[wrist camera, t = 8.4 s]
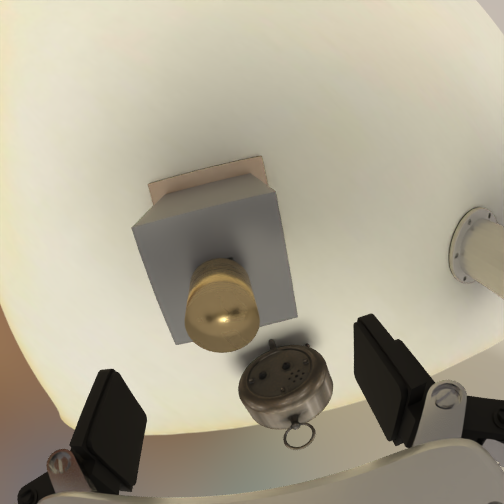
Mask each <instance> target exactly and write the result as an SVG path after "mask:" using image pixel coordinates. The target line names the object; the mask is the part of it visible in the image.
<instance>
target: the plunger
mask: <svg viewBox="0 0 504 504" xmlns="http://www.w3.org/2000/svg"><path fill="white" fill-rule="evenodd" d="M259 325H260V317H259V312H258V309H257V305H256V301H255V297H254V294H253V290H252V286H251V282H250V279H249V276H248V274H247V272H246V270H245V269H244V268H243V267H242V266H241V265H240V264H238V263H237V262H235V261H233V257H230V258H226V259H225V258H215V259H211V260H208V261H206V262H204V263H202V264H201V265H200V266H198V267H197V268H196V270H195V271H194V273H193V274H192V277H191V280H190V286H189V293H188V299H187V306H186V313H185V328H186V332H187V334H188V335H189V337H190V338H191V340H192V341H193V342H194V343H196V344H197V345H198V346H200V347H201V348H203V349H206V350H208V351H212V352H219V353H224V352H232V351H235V350H238V349H241V348H242V347H244V346H246V345H247V344H248V343H250V342H251V341H252V340H253V338H254V337H255V336H256V334H257V332H258V329H259Z"/></svg>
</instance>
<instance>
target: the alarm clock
mask: <svg viewBox="0 0 504 504" xmlns="http://www.w3.org/2000/svg"><path fill="white" fill-rule="evenodd" d="M269 345H270V348H271V349H270V351H268V352H266V353H264V354H263V355H261V356H259V357H258V358H257V359H255V360H254V361H253V362H252V363H251V364H250V365H249V366H248V367H247V368H246V369H245V371H244V373H243V374H242V376H241V379H240V382H239V387H238V391H239V396H240V399H241V401H242V403H243V404H244V406H245V407H246V409H247V410H248V412H249V413H250V414H251V416H252V418H253V419H254V420H255V421H256V422H257V423H259V424H260V425H262V426H264V427H267V428H271V429H287V431H286V433H285V434H284V444H285V445H286V447H288V448H290V449H293V450H300V449H304V448H306V447H307V446H309V445H310V444H311V443H312V441H313V440H314V438H315V429H314V428H313V426H312V425H310V424H308V423H307V422H309V421H310V420H312V419H313V418H315V417H316V416H317V415H319V413H321V412H322V411H323V410H324V408H325V407H326V406H327V404H328V403H329V401H330V399H331V396H332V392H333V382H332V379H331V376H330V374H329V371H328V368H327V365H326V362H325V360H324V358H323V357H322V355H321V354H320V353H318V352H317V351H316V350H314V349H312V348H310V346H309V344H306V345H305V346H301V345H289V346H283V347H278V348H276V346H275V343H274V341H273V340H269ZM300 425H307V426H309V427H310V428H311V429H312V437H311V439H310V441H309V442H308V443H307V444H305V445H304V446H301V447H292V446H290V445H289V444H288V443H287V441H286V436H287V433H288V432H289V430H291V429H295V430H296V429H299V427H300Z"/></svg>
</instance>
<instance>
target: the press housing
mask: <svg viewBox="0 0 504 504" xmlns="http://www.w3.org/2000/svg"><path fill="white" fill-rule="evenodd" d="M148 187H149V191H150V194H151V198H152V202H153V205H154V206H153V207H152V208H151V209H150V210H149V211H148V212H147V213H146V214H145V215H144V216H143V217H142V218H141V219H140V220H139V221H138V222H137V223H136V224H135V225H134V226H133V227H132V231H133V234H134V237H135V240H136V243H137V246H138V249H139V252H140V255H141V258H142V261H143V263H144V266H145V269H146V272H147V275H148V277H149V280H150V283H151V285H152V288H153V291H154V293H155V296H156V298H157V301H158V304H159V306H160V309H161V311H162V313H163V316H164V318H165V321H166V323H167V326H168V328H169V330H170V333H171V335H172V337H173V340H174V342H175V344H176V345H179V344H184V343H189V342H193V341H192V340H191V338H190V337H189V335H188V334H187V332H186V328H185V313H186V306H187V299H188V293H189V286H190V280H191V277H192V274H193V273H194V271H195V270H196V268H197V267H198V266H200V265H201V264H202V263H204V262H206V261H208V260H211V259H215V258H225V259H226V258H230V257H233V261H235V262H237V263H238V264H240V265H241V266H242V267H243V268H244V269H245V270H246V272H247V274H248V276H249V279H250V282H251V286H252V290H253V294H254V297H255V301H256V305H257V309H258V312H259V317H260V325H259V327H261V326H265V325H270V324H273V323H277V322H281V321H285V320H289V319H293V318H296V317H298V315H297V309H296V303H295V297H294V291H293V285H292V279H291V273H290V267H289V261H288V256H287V250H286V244H285V239H284V233H283V228H282V223H281V217H280V212H279V207H278V201H277V196H276V191H274V190H273V189H272V188H270V187H269V186H268V183H267V178H266V173H265V168H264V164H263V159H262V156H257V157H252V158H247V159H243V160H238V161H234V162H229V163H225V164H221V165H216V166H212V167H208V168H204V169H200V170H196V171H192V172H189V173H185V174H181V175H177V176H174V177H170V178H167V179H163V180H160V181H156V182H153V183H150V184H148Z"/></svg>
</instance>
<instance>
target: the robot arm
mask: <svg viewBox="0 0 504 504" xmlns="http://www.w3.org/2000/svg"><path fill="white" fill-rule="evenodd" d="M449 262H450V269H451V272H452V274H453V276H454V277H455V278H456V279H457V280H459V281H460V282H462V283H472V282H474V281H478V282H479V283H481V284H482V285H484V286H485V287H487V288H488V289H490V290H491V291H492V292H494V293H495V294H497V295H498V296H500V297H501V298H503V299H504V226H502V225H499V224H497V220H496V218H495V216H494V214H493V213H492V212H491V211H489V210H488V209H485V208H480V207H478V208H475V209H473V210H471V211H469V212H468V213H467V214H466V215H465V216H464V218H463V219H462V220H461V222H460V223H459V225H458V227H457V229H456V231H455V233H454V236H453V239H452V242H451V247H450V255H449ZM354 375H355V378H356V381H357V383H358V384H359V386H360V388H361V390H362V392H363V394H364V396H365V398H366V400H367V401H368V403H369V405H370V407H371V409H372V411H373V413H374V415H375V416H376V419H377V420H378V423H379V424H380V427H381V428H382V430H383V432H384V434H385V436H386V438H387V440H388V441H392V440H393V442H394V444H395V446H398V445H400V444H402V443H404V444H405V446H406V447H407V448H408V449H405V450H402V451H400V452H397V453H394V454H392V455H389V456H386V457H383V458H380V459H378V460H375V461H372V462H370V463H367V464H364V465H361V466H358V467H355V468H352V469H349V470H346V471H342V472H339V473H336V474H332V475H329V476H325V477H322V478H318V479H314V480H310V481H306V482H302V483H298V484H293V485H289V486H283V487H278V488H273V489H267V490H261V491H254V492H247V493H239V494H231V495H221V496H207V497H184V498H182V497H181V498H161V497H137V496H123V495H119V490H120V491H127V492H132V488H133V485H135V484H136V480H137V473H138V467H139V461H140V456H141V450H142V444H143V439H144V433H145V428H146V423H147V417H146V414H145V412H144V411H143V409H142V408H141V406H140V405H139V403H138V402H137V400H136V399H135V397H134V396H133V394H132V393H131V391H130V390H129V388H128V386H127V385H126V383H125V382H124V380H123V378H122V377H121V375H120V374H119V373H118V372H116V371H115V370H114V369H105V370H100V371H99V372H98V375H97V377H96V379H95V382H94V384H93V386H92V389H91V391H90V393H89V396H88V398H87V401H86V403H85V406H84V408H83V411H82V413H81V416H80V418H79V421H78V423H77V426H76V429H75V432H74V434H73V437H72V439H71V442H70V446H71V450H70V451H69V450H68V449H59V450H56V451H54V452H53V453H52V454H51V455H50V456H49V458H48V460H47V464H46V467H47V472H46V473H44V474H43V475H41V476H40V477H38V478H36V479H35V480H33V481H31V482H30V483H28V484H27V485H25V486H24V487H22V488H21V490H20V491H19V493H18V504H504V472H503V470H502V469H501V467H500V466H502V467H504V400H495V399H487V398H479V397H472V396H467V393H466V391H465V388H464V387H463V386H462V385H461V384H460V383H458V382H456V381H452V380H442V381H439V382H437V383H435V382H434V381H433V380H432V378H431V377H430V376H429V374H428V373H427V372H426V371H425V369H424V368H423V367H422V365H421V364H420V363H419V362H418V360H417V359H416V358H415V357H414V355H413V354H412V353H411V352H410V351H409V349H408V348H407V347H406V346H405V344H404V343H403V342H402V341H401V340H399V339H397V340H394V339H393V338H392V337H391V335H390V334H389V333H388V332H387V330H386V329H385V328H384V327H383V325H382V324H381V323H380V322H379V321H378V319H377V318H376V317H375V316H374V315H373V314H368V315H365V316H362V317H359V318H358V320H357V322H355V323H354ZM496 461H498V462H499V464H497V462H496ZM499 465H500V466H499ZM15 504H16V503H15Z"/></svg>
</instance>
